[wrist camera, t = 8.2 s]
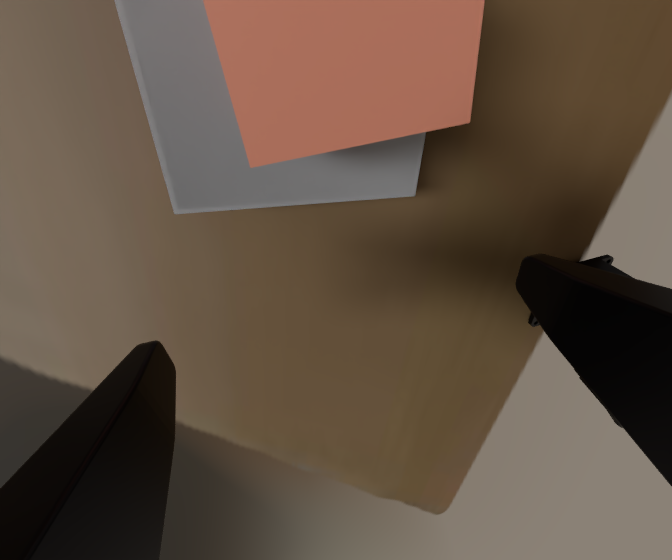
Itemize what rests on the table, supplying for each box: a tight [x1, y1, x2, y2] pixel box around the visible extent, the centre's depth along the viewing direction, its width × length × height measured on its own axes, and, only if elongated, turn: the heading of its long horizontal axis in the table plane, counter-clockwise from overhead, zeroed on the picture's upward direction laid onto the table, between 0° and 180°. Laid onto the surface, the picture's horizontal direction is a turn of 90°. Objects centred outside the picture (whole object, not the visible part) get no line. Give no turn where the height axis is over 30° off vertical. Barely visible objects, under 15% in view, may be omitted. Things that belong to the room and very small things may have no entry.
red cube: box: [203, 0, 485, 168], centre depth 9 cm, size 6×6×6 cm
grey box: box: [114, 0, 426, 214], centre depth 13 cm, size 14×11×4 cm
